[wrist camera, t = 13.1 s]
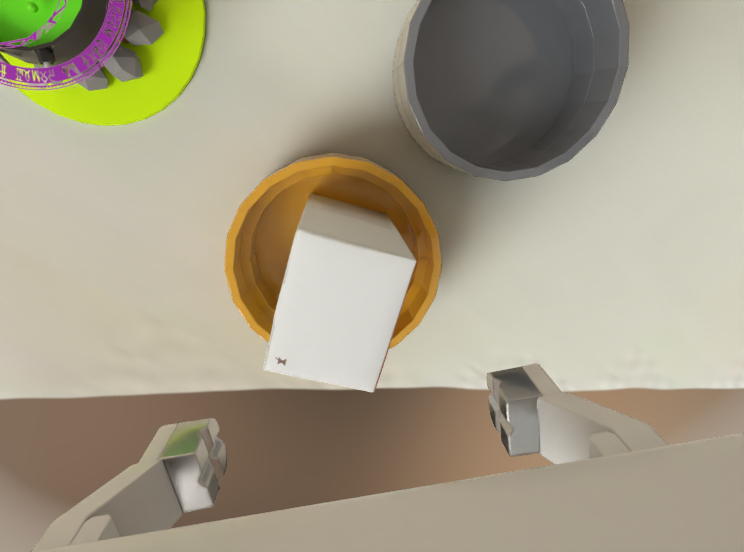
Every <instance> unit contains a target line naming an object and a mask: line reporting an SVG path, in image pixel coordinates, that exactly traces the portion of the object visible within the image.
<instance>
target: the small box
mask: <svg viewBox="0 0 744 552" xmlns="http://www.w3.org/2000/svg"><path fill="white" fill-rule="evenodd" d="M416 263H417V261H416V259H415V258H414V256H413V254H412V253H411V251H410V250H409V248H408V246H407V245H406V243H405V242H404V240H403V238H402V237H401V235H400V233H399V232H398V230H397V229H396V227H395V225H394V224H393V222H392V221H391V219H390V217H389V216H388V214H385V213H381V212H377V211H374V210H370V209H367V208H363V207H359V206H356V205H352V204H348V203H345V202H341V201H338V200H334V199H330V198H327V197H323V196H320V195H316V194H310V195H309V197H308V200H307V203H306V206H305V208H304V211H303V214H302V216H301V219H300V222H299V225H298V227H297V230H296V233H295V237H294V240H293V244H292V248H291V252H290V256H289V260H288V264H287V268H286V271H285V275H284V279H283V283H282V287H281V291H280V295H279V298H278V302H277V306H276V310H275V314H274V319H273V325H272V330H271V335H270V339H269V344H268V348H267V353H266V357H265V362H264V367H263V369H264V371H269V372H275V373H280V374H284V375H289V376H294V377H298V378H303V379H308V380H313V381H318V382H323V383H328V384H333V385H338V386H343V387H348V388H353V389H358V390H364V391H368V392H374V391H375V389H376V386H377V383H378V380H379V377H380V374H381V371H382V368H383V365H384V362H385V359H386V356H387V352H388V349H389V346H390V343H391V340H392V337H393V334H394V331H395V328H396V325H397V322H398V319H399V316H400V313H401V310H402V306H403V303H404V300H405V297H406V294H407V291H408V288H409V284H410V281H411V278H412V275H413V272H414V269H415V266H416Z"/></svg>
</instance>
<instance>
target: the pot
mask: <svg viewBox="0 0 744 552" xmlns="http://www.w3.org/2000/svg"><path fill="white" fill-rule="evenodd" d="M628 51H629V23H628V20H627V16H626V12H625V8H624V5H623V1H622V0H418V1H417V2H416V4H415V6H414V7H413V9H412V11H411V13H410V15H409V17H408V19H407V21H406V23H405V25H404V27H403V30H402V32H401V34H400V36H399V38H398V41H397V47H396V52H395V58H394V66H393V74H392V75H393V85H394V94H395V99H396V105H397V108H398V110H399V113H400V116H401V118H402V120H403V122H404V124H405V126H406V128H407V130H408V133H409V134H410V135H411V136H412V137H413V138H414V140H415V141H416V142H417V143H418V144H419V146H420V147H421V148H423V149H424V151H425V152H426V153H427V154H429V155H430V156H431V157H433V158H435V159H437V160H438V161H440V162H442V163H444V164H446V165H448V166H450V167H451V168H454V169H456V170H459V171H462V172H465V173H468V174H470V175H473V176H477V177H483V178H489V179H495V180H501V181H511V180H517V179H523V178H529V177H535V176H540V175H542V174H544V173H546V172H548V171H550V170H552V169H554V168H556V167H558V166H560V165H562V164H564V163H566V162H568V161H569V160H570V159H572V158H573V157H574V156H575V155H576V154H577V153H578V152H579V151H580V150H581V149H582V148H583V147H585V146H586V145H587V144H588V143H589V142H590V141H591V140H592V139H593V138H594V137H595V136H596V135H597V134H598V132H599V131H600V129H601V127H602V126H603V124H604V123H605V121H606V119H607V118H608V116H609V115H610V113H611V112H612V110H613V108H614V107H615V105H616V103H617V100H618V97H619V94H620V90H621V87H622V84H623V81H624V77H625V74H626V71H627V68H628V67H627V66H628Z"/></svg>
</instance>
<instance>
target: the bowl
mask: <svg viewBox="0 0 744 552" xmlns="http://www.w3.org/2000/svg"><path fill="white" fill-rule="evenodd" d="M310 194H316V195H320V196H323V197H327V198H330V199H334V200H338V201H341V202H345V203H348V204H352V205H356V206H359V207H363V208H367V209H370V210H374V211H377V212H381V213H385V214H388V216H389V217H390V219H391V221H392V222H393V224H394V225H395V227H396V229H397V230H398V232H399V233H400V235H401V237H402V238H403V240H404V242H405V243H406V245H407V246H408V248H409V250H410V251H411V253H412V254H413V256H414V258H415V259H416V261H417V263H416V266H415V269H414V272H413V275H412V278H411V281H410V284H409V288H408V291H407V294H406V297H405V300H404V303H403V306H402V310H401V313H400V316H399V319H398V322H397V325H396V328H395V331H394V334H393V337H392V340H391V343H390V346H389V349H390V348H392V347H394V346H396V345H397V344H398V343H399V342H400V341H402V340H403V339H404V338H405V337H406V336H407V335H408V334H409V333H410V332H411V331H412V330H414V329H415V328H416V327H417V326H418V325H419V324H420V322H421V321H422V319H423V317H424V315H425V314H426V312H427V310H428V309H429V307H430V305H431V303H432V302H433V300H434V298H435V295H436V291H437V286H438V282H439V277H440V273H441V268H442V267H441V266H442V263H441V253H440V244H439V235H438V232H437V230H436V228H435V226H434V224H433V221H432V219H431V217H430V215H429V213H428V211H427V208H426V206H425V205H424V203H423V202H422V201H421V200H420V199H419V198H418V197H417V196H416V195H415V194H414V192H413V191H412V190H411V189H410V188H409V187H408V186H407V185H406V184H405V183H404V182H403V181H402V180H401V179H400V178H399V177H398V176H396V175H395V174H394V173H393V172H391V171H389V170H387V169H385V168H383V167H382V166H380V165H378V164H376V163H374V162H372V161H370V160H368V159H367V158H364V157H358V156H352V155H346V154H340V153H327V154H321V155H315V156H308V157H303V158H300V159H298V160H296V161H294V162H292V163H291V164H289V165H287V166H285V167H283V168H281V169H279V170H277V171H275V172H274V173H272V174H271V175H270V176H268V177H267V178H265V179H264V180H263V181H262V182H261V183H260V184H259V185H258V186H257V188H256V189H255V190H254V191H253V192H252V193H251V194H250V195H249V196H248V197H247V198H246V199H245V200H244V202H243V203H242V204H241V205H240V207H239V209H238V212H237V214H236V216H235V218H234V221H233V223H232V225H231V228H230V230H229V232H228V235H227V240H226V255H225V274H226V277H227V281H228V285H229V288H230V292H231V296H232V299H233V302H234V304H235V305H236V307H237V308H238V310H239V311H240V313H241V314H242V316H243V317H244V319H245V320H246V322H247V323H248V325H249V326H250V328H251V329H252V330H254V331H255V332H256V333H257V334H258V335H260V336H261V337H262V338H263V339H265V340H266V341H267V342H268V343H269V339H270V335H271V330H272V325H273V319H274V314H275V310H276V306H277V302H278V298H279V295H280V291H281V287H282V283H283V279H284V275H285V271H286V268H287V264H288V260H289V256H290V252H291V248H292V244H293V240H294V237H295V233H296V230H297V227H298V225H299V222H300V219H301V216H302V214H303V211H304V208H305V206H306V203H307V200H308V197H309V195H310Z"/></svg>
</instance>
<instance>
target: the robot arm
mask: <svg viewBox="0 0 744 552" xmlns="http://www.w3.org/2000/svg"><path fill="white" fill-rule="evenodd" d="M487 386H488V388H489V390H490V392H491V395H490V396H489V398H488V401H489V409H490V414H491V418H492V421H493V424H494V426H495V428H496V430H497V431H499V432H501V438H502V442H503V444H504V446H505V448H506V450H507V452H508V454H509V456H510V457H514V456H521V455H528V454H535V453H540V454H541V455H543V456H544V457H545V458H547V459H548V460H550V461H551V462H553V463H554V465H549V466H542V467H537V468H530V469H524V470H518V471H512V472H507V473H500V474H495V475H488V476H482V477H476V478H471V479H464V480H459V481H453V482H447V483H441V484H435V485H429V486H423V487H417V488H411V489H405V490H399V491H393V492H387V493H382V494H375V495H369V496H363V497H358V498H351V499H345V500H339V501H333V502H327V503H322V504H316V505H309V506H304V507H298V508H292V509H285V510H280V511H274V512H268V513H261V514H255V515H250V516H244V517H238V518H232V519H225V520H219V521H213V522H207V523H202V524H196V525H190V526H184V527H178V528H172V529H170V528H171V527H172V526H173V525H174V523H175V522H176V521H177V520H178V519H179V518H180V517H181V516H182V514H183V512H188V511H193V510H198V509H203V508H208V507H213V506H214V503H215V500H216V497H217V494H218V491H219V489H220V487H219V484H218V481H219V480H220V479H221V478H222V477H223V476H224V474H225V470H226V465H227V454H226V449H225V445H224V442H223V441H221V440H220V439H218V438H217V435H218V433H219V430H220V429H219V427H218V424H217V421H216V420H215V419H213V418H211V419H204V420H197V421H190V422H184V423H177V424H170V425H165V426H162V427H160V429H159V430H158V432H157V433H156V435H155V437H154V438H153V440H152V442H151V443H150V445H149V446H148V448H147V450H146V451H145V453H144V455H143V456H142V458H141V460H140V461H139V463H138V464H133V465H131V466H130V467H129V468H127V469H126V470H124V471H123V472H122V473H121V474H119V475H117V476H116V477H115V478H113V479H112V480H111V481H109V482H108V483H106V484H105V485H103V486H102V487H101V488H99V489H98V490H97V491H95V492H94V493H92V494H91V495H90V496H88V497H87V498H85V499H84V500H83V501H81V502H80V503H79V504H77V505H76V506H74V507H73V508H72V509H70V510H69V511H67V512H66V513H65V514H63V515H62V516H60V517H59V518H57V519H56V520H55V521H53V522H52V523H51V525H50V526H49V527H48V529H47V530H46V531H45V533H44V534H43V535H42V537H41V538H40V539H39V541H38V542H37V543H36V545H35V546H34V548H33V549H32V550H31V552H744V433H740V434H734V435H728V436H722V437H716V438H710V439H705V440H698V441H692V442H687V443H680V444H674V445H669V444H668V443H667V442H666V441H665V440H664V439H663V438H662V437H661V436H660V435H659V434H658V433H657V432H656V431H655V430H654V429H653V428H652V427H651V426H650V425H649V424H648V423H646V422H643V421H640V420H638V419H635V418H633V417H630V416H628V415H625V414H622V413H620V412H617V411H615V410H612V409H609V408H607V407H604V406H602V405H599V404H596V403H594V402H591V401H589V400H586V399H583V398H581V397H578V396H576V395H573V394H571V393H568V392H565V393H562V392H561V390H560V389H559V388H558V387H557V386H556V384H555V383H554V382H553V381H552V380H551V378H550V377H549V376H548V375H547V373H546V372H545V371H544V370H543V369H542V367H541V366H540V365H539V364H537V363H536V364H531V365H526V366H521V367H517V368H512V369H507V370H501V371H496V372H491V373H487Z"/></svg>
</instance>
